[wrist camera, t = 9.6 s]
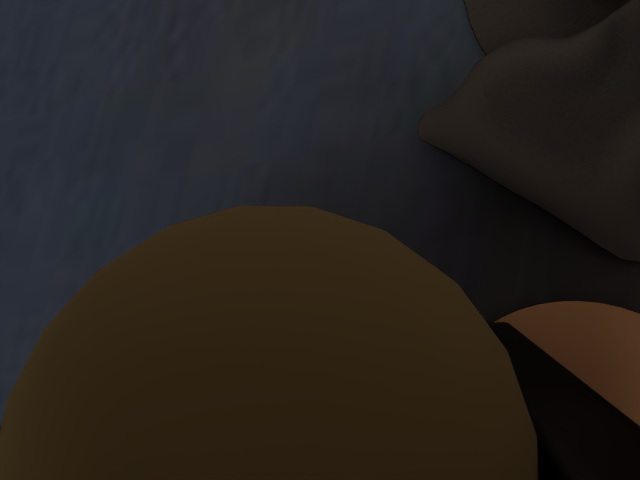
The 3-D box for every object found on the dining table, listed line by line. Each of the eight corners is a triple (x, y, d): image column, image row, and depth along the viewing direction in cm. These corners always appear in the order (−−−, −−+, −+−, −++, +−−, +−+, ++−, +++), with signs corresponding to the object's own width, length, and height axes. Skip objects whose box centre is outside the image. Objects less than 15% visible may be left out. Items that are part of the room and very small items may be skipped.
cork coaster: (671, 730, 17) (676, 737, 16) (364, 502, 20) (363, 503, 19) (822, 414, 18) (830, 414, 18) (518, 250, 21) (520, 246, 21)
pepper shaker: (210, 386, 16) (-180, 274, 6) (421, 292, 16) (409, 5, 6) (293, 637, 14) (-97, 1183, 4) (538, 530, 14) (870, 774, 3)
